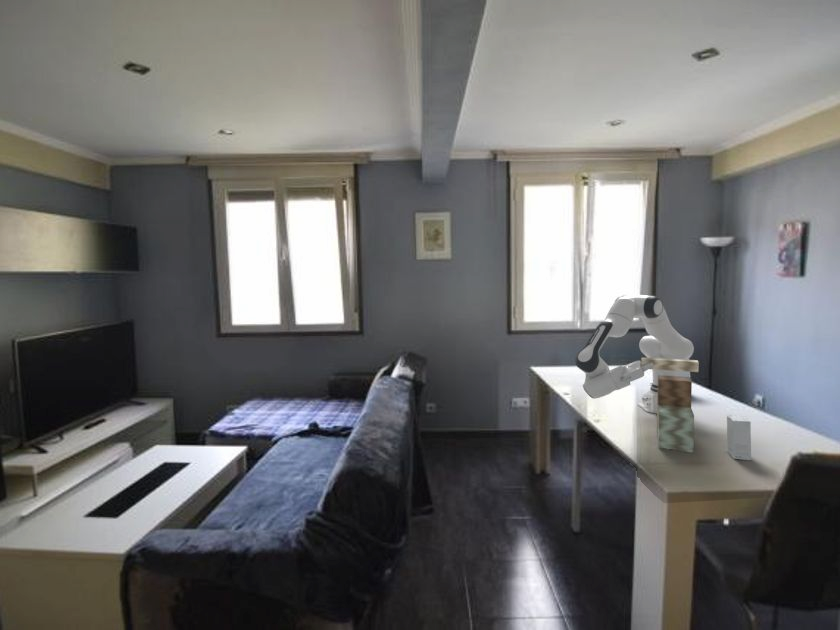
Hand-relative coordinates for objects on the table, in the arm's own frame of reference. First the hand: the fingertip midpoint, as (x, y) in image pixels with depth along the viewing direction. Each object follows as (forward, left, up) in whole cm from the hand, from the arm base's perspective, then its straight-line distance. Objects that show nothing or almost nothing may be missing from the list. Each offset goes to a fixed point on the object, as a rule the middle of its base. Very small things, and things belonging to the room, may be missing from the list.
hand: (653, 362), depth 179 cm
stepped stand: (0, +9, -34) cm, 35 cm away
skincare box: (+17, +24, -34) cm, 45 cm away
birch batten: (+3, +5, -2) cm, 6 cm away
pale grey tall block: (-72, +57, -34) cm, 98 cm away
